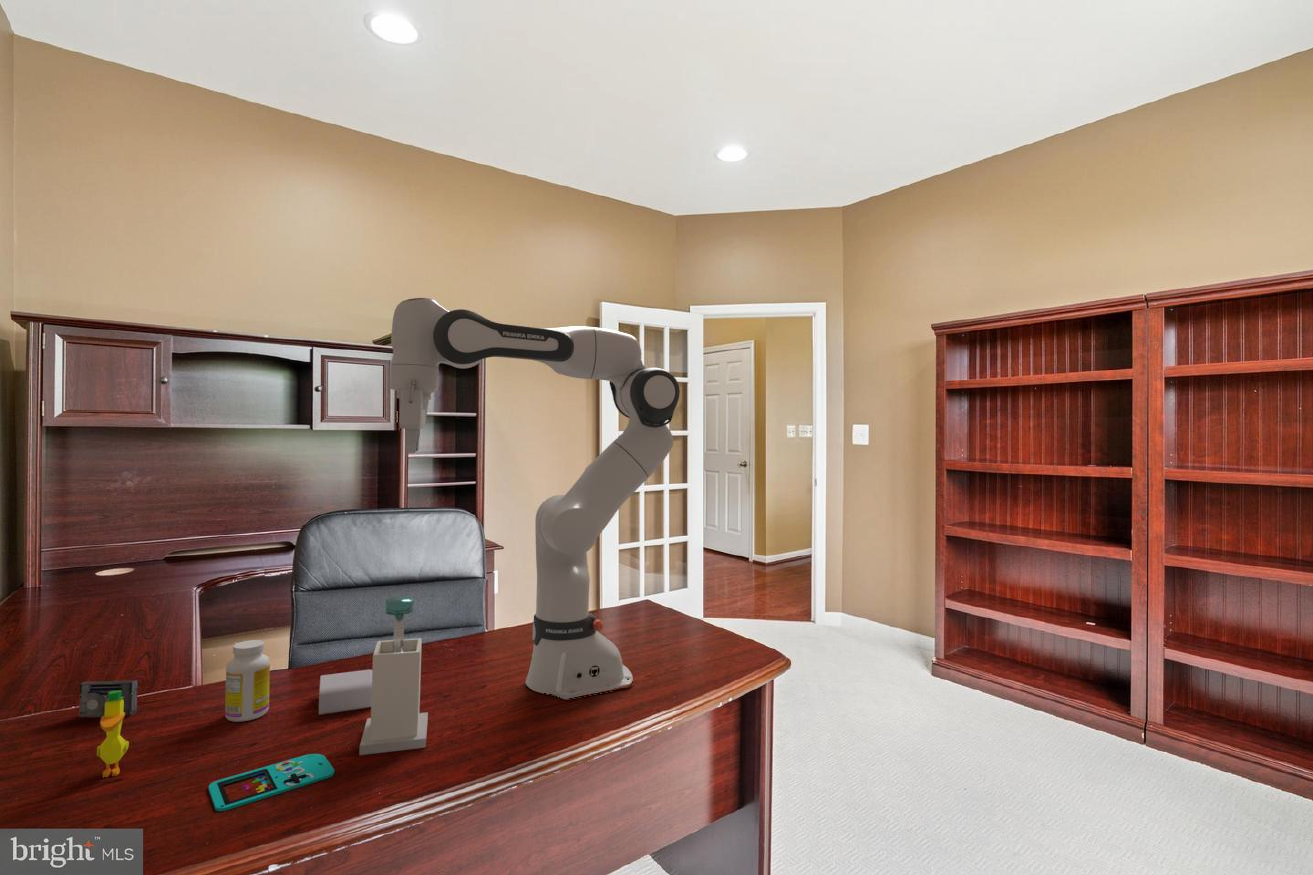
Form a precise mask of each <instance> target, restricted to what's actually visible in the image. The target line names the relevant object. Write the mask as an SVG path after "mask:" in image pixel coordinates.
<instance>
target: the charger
mask: <svg viewBox="0 0 1313 875" xmlns="http://www.w3.org/2000/svg"><path fill="white" fill-rule="evenodd" d="M371 700H372V669H362V670H353V671H347V672H340V673H339V672H338V673H332V674H331V673H330V674H323V675H320V680H319V696H318V716H321V715H322V716H323V715H327V714H334V713H343V712H348V711H349V712H350V711H354V710H355V711H356V710H360V709H367V708H371Z"/></svg>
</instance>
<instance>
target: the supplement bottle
mask: <svg viewBox="0 0 1313 875" xmlns="http://www.w3.org/2000/svg"><path fill="white" fill-rule="evenodd" d="M264 649H265V642H264V641H263V640H259V639H253V640H252V639H251V640H245V641H241V642H237V643H235V644H234V645H233V646H232V654H233V655H234V657H233V658H231V659H230V660H229V661H228V662H227V664H226V667H225V698H224V699H225V701H224V702H225V703H224V705H225V707H224V708H225V709H224V712H225V713H224V716H225V718H226V719H227V720H228V721H231V722H232V723H233V722H235V723H236V722H237V723H238V722H239V723H240V722H246V721H251V720H252V721H253V720H255V719H258V718H260V717H262V716H265V714H266V713H268V711H269V707H270V679H271V678H270V677H271V676H270V675H271V674H270V671H271V664H270V663H271V662H270V657H269V656H268V655H266V654H265V653H263V652H264Z"/></svg>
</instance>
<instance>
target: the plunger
mask: <svg viewBox="0 0 1313 875" xmlns="http://www.w3.org/2000/svg"><path fill="white" fill-rule="evenodd" d="M414 600H415V599H414V597H412V596H408V595H407V596H406V595H405V596H404V595H402V596H392V597H389V598H387V599H385V614H386V615H390V616H393V617H394V618H393V640H394V641H393V653H396V652H403V644H404V639H405V636H404V635H405V634H404V633H405V615H407V614H412V613H413V612H414Z"/></svg>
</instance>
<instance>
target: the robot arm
mask: <svg viewBox="0 0 1313 875" xmlns="http://www.w3.org/2000/svg"><path fill="white" fill-rule="evenodd" d="M393 312H394V313H393V317H392V324H391V335H390V336H391V339H390V341H391V342H390V343H391V347H392V357H391V361H390V371H389V374H390V375H389V376H390V377H389V390H394V391H396V399H399V400H400V401H399V422H398V424H399V427H400V429H404V442H405V443H404V444H405V447H404V448H405V453H406V454H415V453H416V452H418V451H419V449H420V448H419V445H420V444H419V442H420V436H421V429H422V430H423V429H424V428H425V425H426V422H427V415H428V408H429V402H430V400H431V399H432V394H433V393H434V392H435V393H436V392H438V391H439V367H440V366H439V365H440V364H444V365H447V366H452V367H454V368H457V369H469V368H472V367H475V366H477V365H478V364H480V362H481V361H482V360H484V359H488V358H503V359H505V358H507V359H516V360H531V361H535V362H539V363H541V364H542V363H543V364H544V365H545V366H548V367H549V368H550V369H552V370H553V371H554V372H555V373H556V374H558V375H562V376H566V377H570V378H576V379H584V380H598V381H599V380H601V381H607V382H609V387H610V390H611V393H612V399H613V400H612V401H613V402H614V405H615V408H616V410H617V411H618V412H619V413H620V414H621V415H623V416H624V417H626V418H627V419H629V420H628V423H627V425H626V427H625V429H624V430H623V431H622V433H621V434H620V435H618V437H617V438H615V440H613V441H612V442H611V443H610V444H609V445H608V446H607V447H606V448H605V449H604V450H603V451H602V452H601V453H600V454H599V455H597V457H596V458H594V460H593V461H591V463H590V464H588V466H586V468H585V469H584V471H583V473H582V474H581V475H580V477H579V478H578V479H577V480H576V482H574V484H573V485H572V486H571V488H570V489H569V490H568V491H567V493H565V494H556V495H554V496H553V495H552V496H550V497H549V498H547V499H545V500H544V501H543V502H542V503H541V504H540V505H539V507H538V509H537V511H536V513H535V514H536V515H535V528H534V529H535V562H536V563H535V564H536V596H535V597H536V601H535V603H536V604H535V606H536V607H535V614H534V615H533V621H532V642H533V650H532V656H531V661H530V665H529V669H528V673H527V675H526V676H527V677H526V679H525V685H526V686H527V687H528V688H529V689H530V690H532V691H533V692H537V693H539V694H544V693H546V694H545V695H549V694H553V695H552V696H554V695H555V696H554V697H556V696H557V698H559V697H560V698H559V699H561V698H562V699H563V700H570V699H569V698H573V697H578V696H582V695H586V694H591V693H598V692H601V691H606V690H611V689H614V688H619V687H623V686H627V685H630V684H631V683H632V681H633V682H634V678H633V674H632V671H630V669H629V668H628V667H627V666H625V665H624V664H623V660H622V655H621V653H620V650H619V649H618V647H617V646H616V645H615V643H613V642H612V641H611V640H609V639H608V638H606V636H604V635H603V634H602V633H600V631H602V629H603V628H604V623H603V621H602V620H601V619H600V618H598V617H597V616H595V615H593V614H592V613H591V612H589V607H590V582H591V581H590V580H591V579H590V577H591V576H590V574H589V566H588V556H587V554H588V553H587V552H589V551H590V550H591V549H592V548H593V547H594V545H596V542H597V540H598V538H599V536H600V535H601V533H602V532H603V531H604V530H605V528H607V526H608V524H609V523H610V522H611V520H612V519H613V517H615V514H617V512H618V510H619V509H620V508H621V507H622V505H624V503H625V502H626V501H627V500H628V499H629V498H630V497H631V496H632V495H633V494H634V493H635V492H636V491H637V490H638V488H640V487H641V486H642V485H643V484H644V483H645V482H646V481H647V480H649V478H650V477H651V476H652V475H653V474H654V472H655V471H656V470H657V469H658V468H659V466H660V465H661V464H662V463H663V461H664V460H665V459H666V458H667V457H668V456H669V455H668V454H669V453H670V451H671V450H672V448H673V447H674V437H673V433H672V432H671V429H669V427H668V426H667V425H669V424H670V423H671V421H672V419H673V416H674V413H675V411H676V410H675V409H676V408H677V405H678V403H679V399H680V385H679V382H678V381H677V380H678V379H677V378H676V377H675V376H674V375H673V374H672V373H671V372H669V371H668V370H666V369H663V368H659V367H646V366H645V365H644V363H643V361H642V349H641V345H640V343H639V341H638V340H637V338H636V337H635V336H634V335H631V334H628V333H625V332H623V331H622V332H621V331H617V330H615V329H610V328H609V329H608V328H603V327H593V326H578V325H577V326H574V325H573V326H560V327H547V328H545V327H544V328H543V327H542V328H540V327H533V326H532V327H531V326H526V325H525V326H524V325H517V324H516V325H514V324H509V323H507V324H506V323H499V322H495V321H492V320H490V319H488V318H485V317H484V316H482V315H480V314H478V313H477V312H475V311H471V310H468V309H462V308H461V309H460V308H459V309H454V310H451V311H450V310H448V309H447V308H445V307H443V306H442V305H440V303H438V302H437V301H436V300H435V299H432V298H427V297H415V298H408V299H405V300H402V301H401V302H399V303H398V304H397V305H396V307H395V309H394V311H393ZM627 679H629V680H627ZM578 698H579V697H578ZM562 699H561V700H562ZM573 699H574V698H573Z"/></svg>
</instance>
